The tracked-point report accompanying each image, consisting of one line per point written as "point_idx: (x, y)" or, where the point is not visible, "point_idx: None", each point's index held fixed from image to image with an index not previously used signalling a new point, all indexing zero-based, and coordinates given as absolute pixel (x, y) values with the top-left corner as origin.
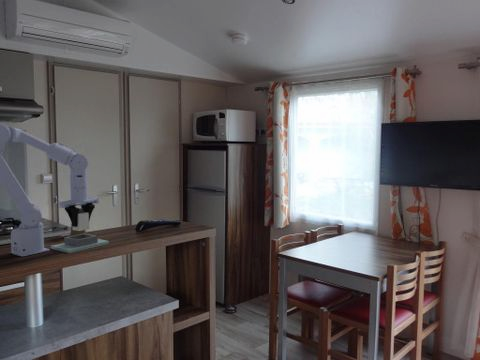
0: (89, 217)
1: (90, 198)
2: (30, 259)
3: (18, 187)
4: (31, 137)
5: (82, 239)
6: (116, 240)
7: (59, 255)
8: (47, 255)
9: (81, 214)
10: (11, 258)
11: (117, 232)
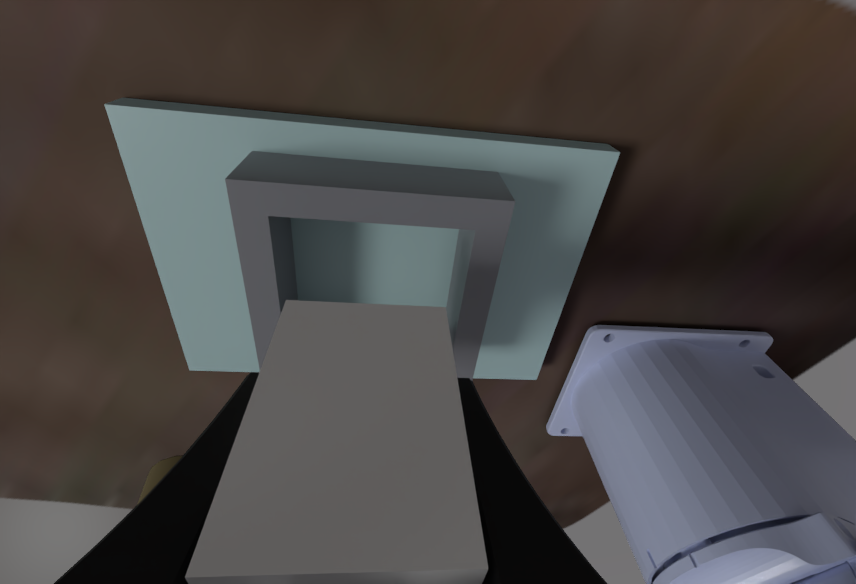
0: (197, 462)
1: None
2: (827, 244)
3: None
4: None
5: (450, 193)
6: None
7: (695, 152)
8: (706, 237)
9: (406, 548)
10: (795, 353)
11: None
